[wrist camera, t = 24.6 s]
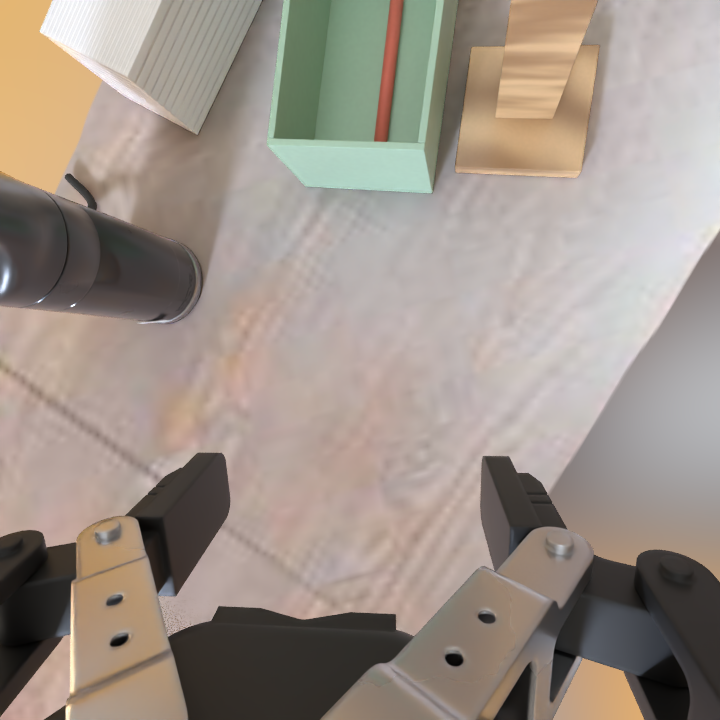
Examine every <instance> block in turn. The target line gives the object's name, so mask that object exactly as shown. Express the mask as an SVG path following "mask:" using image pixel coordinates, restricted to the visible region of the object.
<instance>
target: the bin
mask: <svg viewBox="0 0 720 720" xmlns="http://www.w3.org/2000/svg"><path fill="white" fill-rule="evenodd" d="M389 7H390V0H284V2H283V11H282V19H281V27H280V36H279V44H278V53H277V61H276V70H275V78H274V86H273V95H272V103H271V112H270V120H269V129H268V139H267V146H268V147H269V148H270V149H271V150H272V151H273V152H274V153H275V155H276V156H277V157H278V158H279V159H280V160H281V161H282V162H283V163H284V164H285V165H286V166H287V167H288V168H289V169H290V171H291V172H292V173H293V174H294V175H295V176H296V177H297V178H298V179H299V180H300V181H301V182H302V183H303V184H304V185H305V186H306V187H323V188H342V189H360V190H378V191H397V192H415V193H433V185H434V178H435V171H436V163H437V156H438V148H439V141H440V133H441V126H442V118H443V111H444V104H445V96H446V89H447V81H448V74H449V66H450V59H451V51H452V44H453V37H454V29H455V22H456V14H457V7H458V0H404V3H403V12H402V20H401V29H400V38H399V46H398V55H397V63H396V72H395V80H394V89H393V97H392V106H391V114H390V123H389V131H388V140H387V142H374V136H375V127H376V119H377V110H378V102H379V93H380V84H381V76H382V67H383V58H384V50H385V41H386V33H387V24H388V15H389Z"/></svg>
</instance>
